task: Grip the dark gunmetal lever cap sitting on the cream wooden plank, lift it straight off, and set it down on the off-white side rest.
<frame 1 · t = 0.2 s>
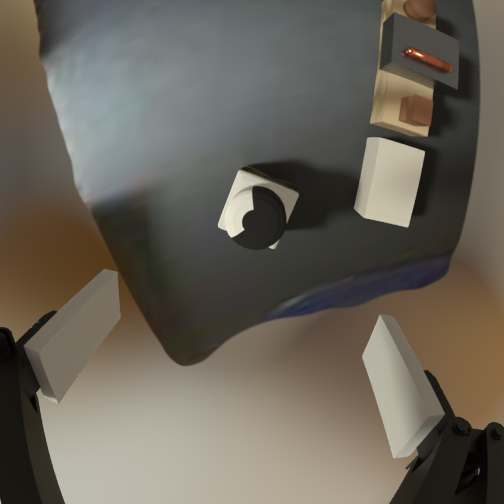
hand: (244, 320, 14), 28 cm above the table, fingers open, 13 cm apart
medicine bottle: (260, 198, 40), on the table
lever cap: (413, 57, 26), point 5 cm above the table, touching cream wooden plank
cream wooden plank: (399, 64, 31), on the table
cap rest: (382, 178, 37), on the table
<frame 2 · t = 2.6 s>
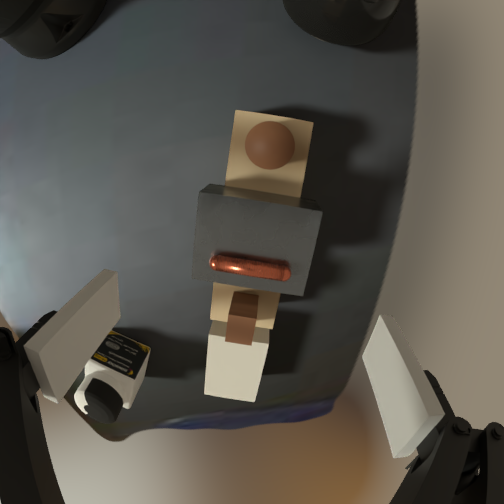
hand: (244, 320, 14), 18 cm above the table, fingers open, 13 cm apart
medicine bottle: (126, 352, 40), on the table
lever cap: (256, 230, 26), point 5 cm above the table, touching cream wooden plank
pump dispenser: (330, 15, 22), on the table
cream wooden plank: (258, 216, 31), on the table
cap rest: (237, 345, 37), on the table
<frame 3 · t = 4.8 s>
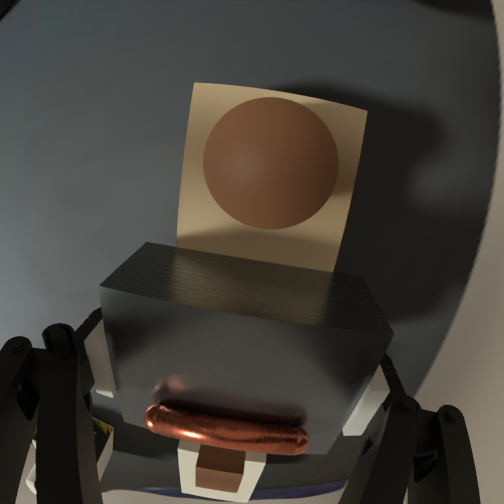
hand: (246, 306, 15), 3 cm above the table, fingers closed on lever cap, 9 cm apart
medicine bottle: (87, 425, 26), on the table
lever cap: (242, 331, 13), point 5 cm above the table, touching gripper, cream wooden plank
cream wooden plank: (250, 281, 18), on the table
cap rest: (224, 438, 24), on the table
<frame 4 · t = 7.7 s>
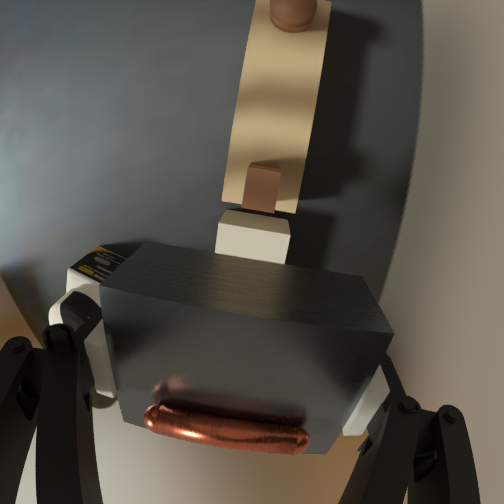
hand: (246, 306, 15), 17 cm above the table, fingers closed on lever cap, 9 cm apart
medicine bottle: (118, 278, 35), on the table
lever cap: (242, 330, 13), point 19 cm above the table, touching gripper
cream wooden plank: (277, 99, 26), on the table
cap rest: (249, 258, 33), on the table
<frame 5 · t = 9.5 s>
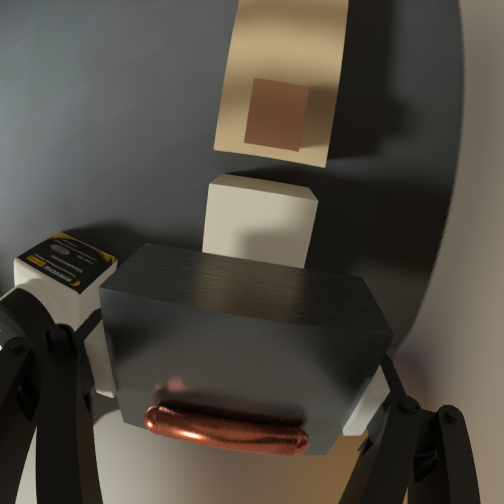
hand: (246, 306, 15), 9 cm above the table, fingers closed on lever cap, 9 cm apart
medicine bottle: (85, 274, 26), on the table
lever cap: (242, 331, 13), point 11 cm above the table, touching gripper
cream wooden plank: (289, 30, 17), on the table
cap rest: (255, 243, 24), on the table
when the fingers open (4 cm above the table, at t = 10.9 s): lever cap drops 1 cm, resting on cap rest.
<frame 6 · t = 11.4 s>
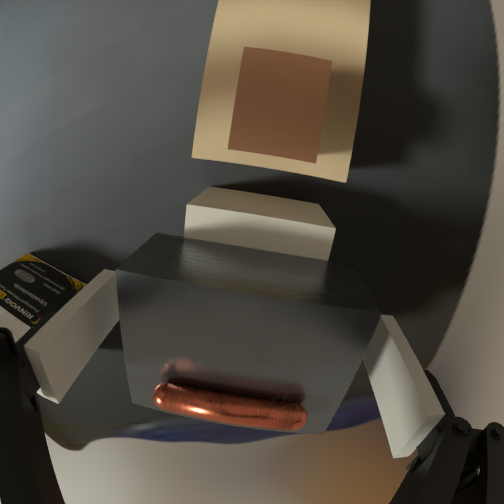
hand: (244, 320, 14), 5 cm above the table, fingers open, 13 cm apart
medicine bottle: (57, 300, 21), on the table
lever cap: (244, 316, 14), point 5 cm above the table, touching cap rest
cream wooden plank: (294, 6, 13), on the table
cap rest: (251, 272, 19), on the table
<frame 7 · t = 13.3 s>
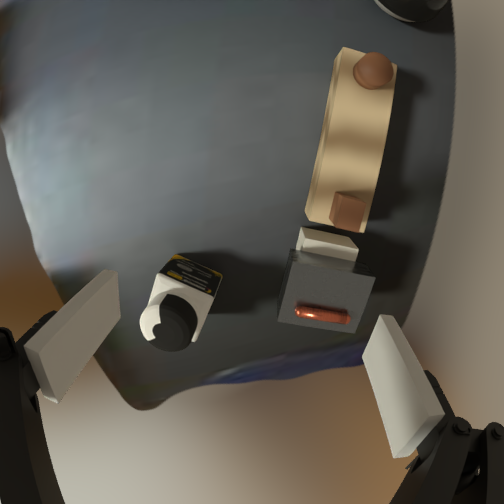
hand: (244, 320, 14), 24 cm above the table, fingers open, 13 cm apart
medicine bottle: (191, 284, 41), on the table
lever cap: (321, 284, 34), point 5 cm above the table, touching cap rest
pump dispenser: (394, 2, 26), on the table
cream wooden plank: (346, 139, 33), on the table
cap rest: (315, 268, 39), on the table
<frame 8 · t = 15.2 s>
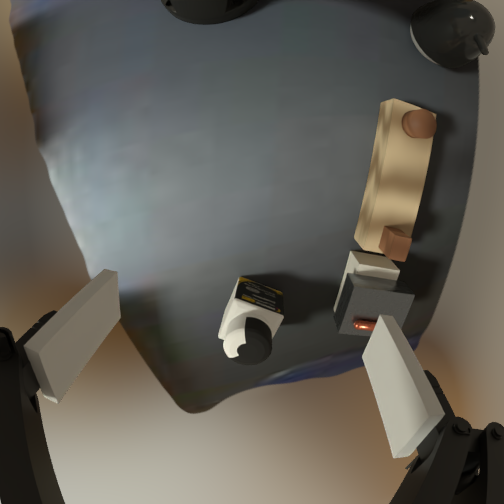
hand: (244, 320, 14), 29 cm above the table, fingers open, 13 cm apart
medicine bottle: (253, 301, 47), on the table
lever cap: (369, 299, 39), point 5 cm above the table, touching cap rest
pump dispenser: (429, 42, 30), on the table
cream wooden plank: (389, 175, 38), on the table
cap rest: (360, 283, 44), on the table
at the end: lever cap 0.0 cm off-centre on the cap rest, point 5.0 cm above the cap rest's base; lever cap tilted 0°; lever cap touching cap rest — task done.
